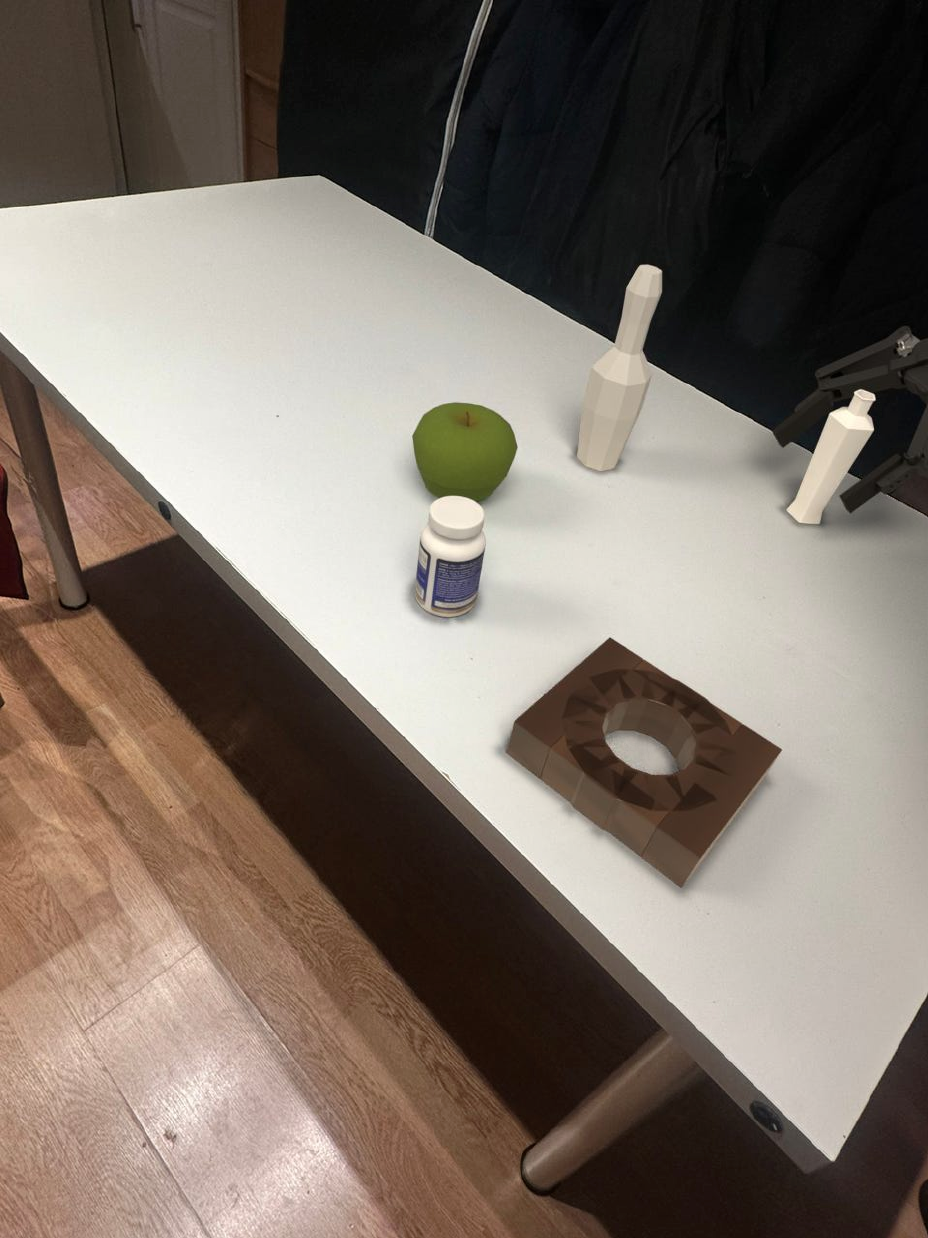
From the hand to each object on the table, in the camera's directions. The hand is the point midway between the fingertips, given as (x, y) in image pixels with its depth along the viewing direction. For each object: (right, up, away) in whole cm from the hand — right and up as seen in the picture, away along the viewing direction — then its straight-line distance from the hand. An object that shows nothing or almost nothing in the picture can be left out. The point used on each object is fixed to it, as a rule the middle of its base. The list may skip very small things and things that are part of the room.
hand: (809, 470), depth 87 cm
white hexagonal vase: (+2, -4, +5) cm, 7 cm away
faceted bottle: (-21, +3, +8) cm, 23 cm away
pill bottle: (-39, -14, -12) cm, 43 cm away
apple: (-38, -3, 0) cm, 38 cm away
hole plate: (-23, -27, -23) cm, 43 cm away
